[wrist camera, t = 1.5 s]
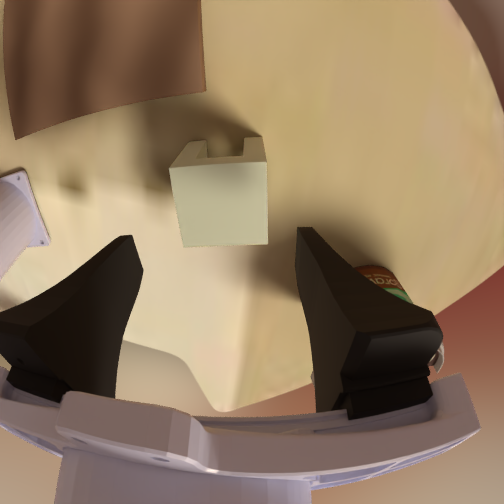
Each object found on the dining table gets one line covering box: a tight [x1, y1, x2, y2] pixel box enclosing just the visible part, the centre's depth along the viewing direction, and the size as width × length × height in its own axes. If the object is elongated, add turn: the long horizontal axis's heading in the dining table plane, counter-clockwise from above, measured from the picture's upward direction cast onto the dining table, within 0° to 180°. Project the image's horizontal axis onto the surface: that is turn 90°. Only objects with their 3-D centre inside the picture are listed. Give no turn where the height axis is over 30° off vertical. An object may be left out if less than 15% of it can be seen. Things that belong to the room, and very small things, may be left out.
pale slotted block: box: [169, 137, 268, 247], centre depth 17 cm, size 5×5×6 cm
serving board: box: [3, 0, 206, 140], centre depth 11 cm, size 16×16×2 cm
